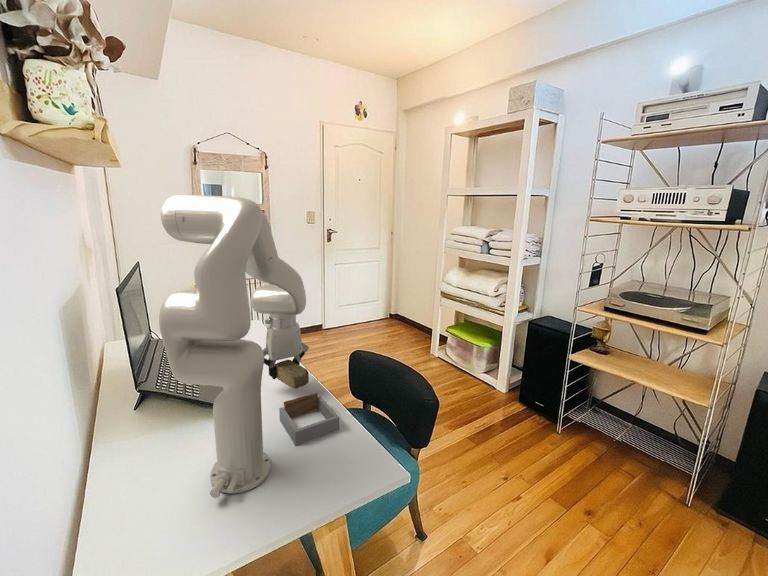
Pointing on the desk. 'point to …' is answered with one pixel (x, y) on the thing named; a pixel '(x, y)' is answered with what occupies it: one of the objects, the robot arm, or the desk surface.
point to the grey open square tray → (313, 429)
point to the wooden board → (301, 405)
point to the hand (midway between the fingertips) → (284, 374)
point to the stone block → (291, 374)
